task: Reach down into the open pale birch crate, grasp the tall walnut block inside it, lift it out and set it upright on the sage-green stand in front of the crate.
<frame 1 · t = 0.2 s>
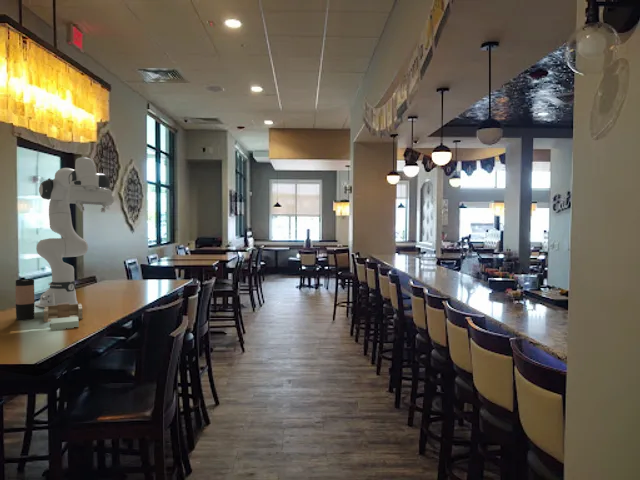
hand: (93, 211, 210), 54 cm above the table, tool tilted 30°, fingers open, 8 cm apart
travel mug: (25, 321, 214), on the table
sage stand: (64, 326, 204), on the table
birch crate: (63, 319, 218), on the table
walnut block: (63, 317, 217), point 1 cm above the table, touching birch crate
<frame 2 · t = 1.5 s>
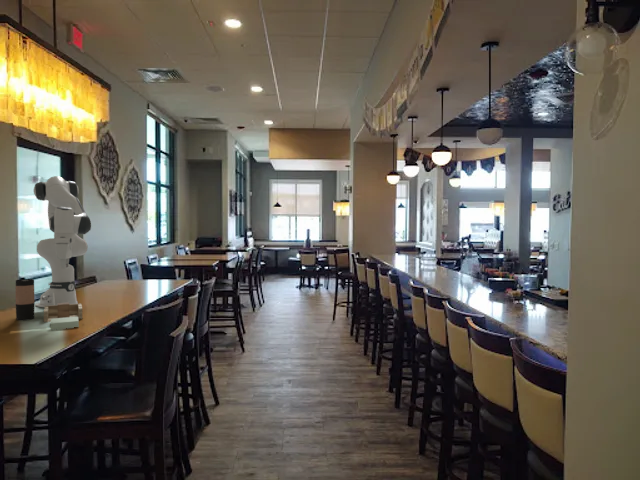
hand: (64, 268, 215), 26 cm above the table, tool pointing down, fingers open, 8 cm apart
nothing on the table moved.
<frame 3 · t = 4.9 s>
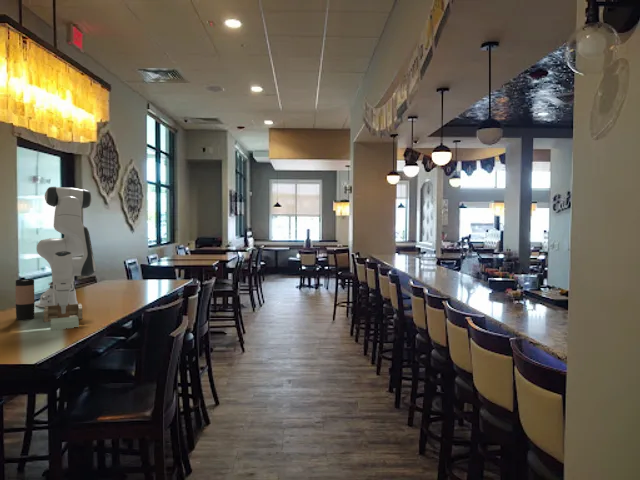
hand: (63, 312, 217), 4 cm above the table, tool pointing down, fingers closed on walnut block, 5 cm apart
walnut block: (63, 317, 217), point 1 cm above the table, touching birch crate, gripper
everything else where it was.
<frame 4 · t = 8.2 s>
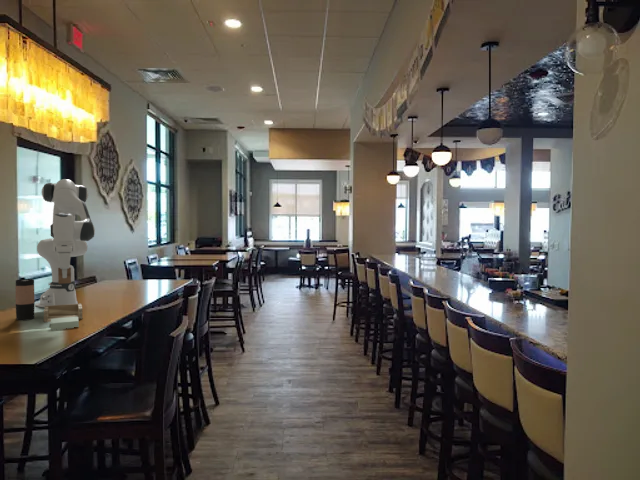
hand: (64, 277, 205), 23 cm above the table, tool pointing down, fingers closed on walnut block, 5 cm apart
walnut block: (64, 282, 205), point 20 cm above the table, touching gripper
everything else where it was.
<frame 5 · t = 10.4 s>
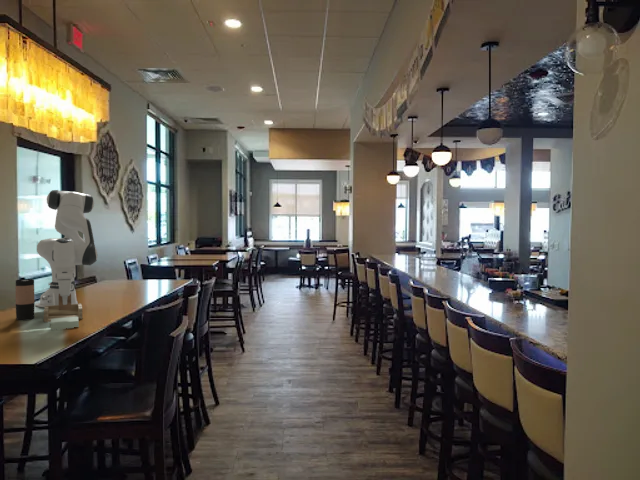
hand: (64, 303, 203), 11 cm above the table, tool pointing down, fingers closed on walnut block, 5 cm apart
walnut block: (65, 308, 203), point 8 cm above the table, touching gripper
everything else where it was.
when the fingers open (7 cm above the table, at t = 12.0 s): walnut block drops 1 cm, resting on sage stand.
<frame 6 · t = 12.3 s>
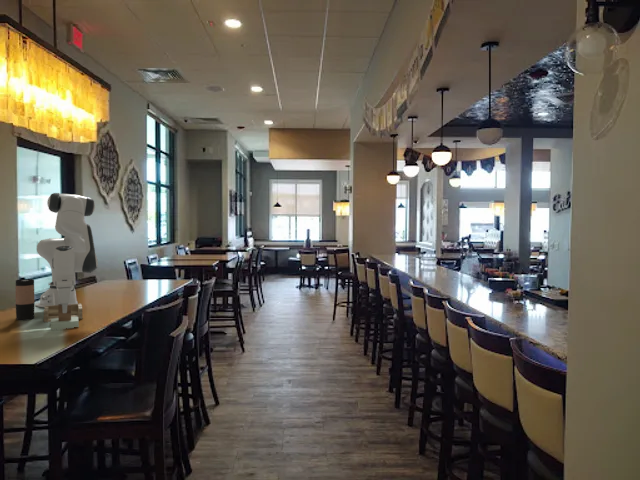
hand: (64, 311, 203), 7 cm above the table, tool pointing down, fingers open, 8 cm apart
walnut block: (64, 319, 203), point 3 cm above the table, touching sage stand
everything else where it was.
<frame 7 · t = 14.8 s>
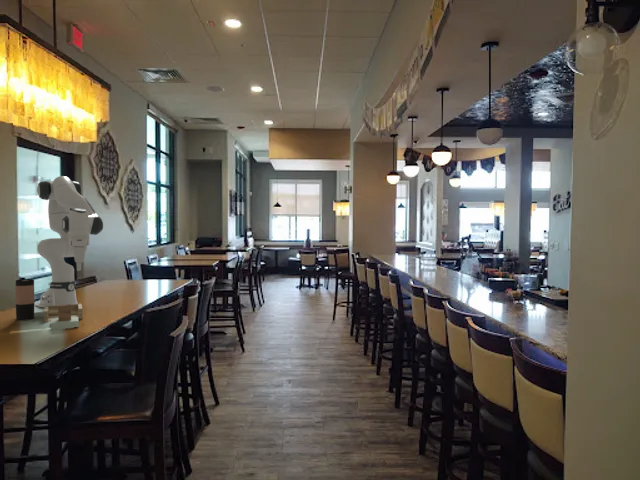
hand: (78, 269, 217), 25 cm above the table, tool pointing down, fingers open, 8 cm apart
nothing on the table moved.
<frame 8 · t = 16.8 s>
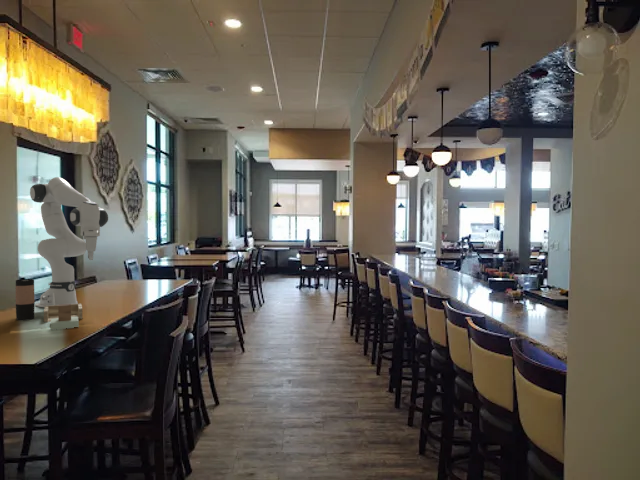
hand: (90, 259, 228), 29 cm above the table, tool pointing down, fingers open, 8 cm apart
nothing on the table moved.
at the end: walnut block inside the target area on the sage stand (0.1 cm from its centre), point 3.0 cm above the sage stand's base; walnut block tilted 0°; the gripper is holding nothing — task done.
